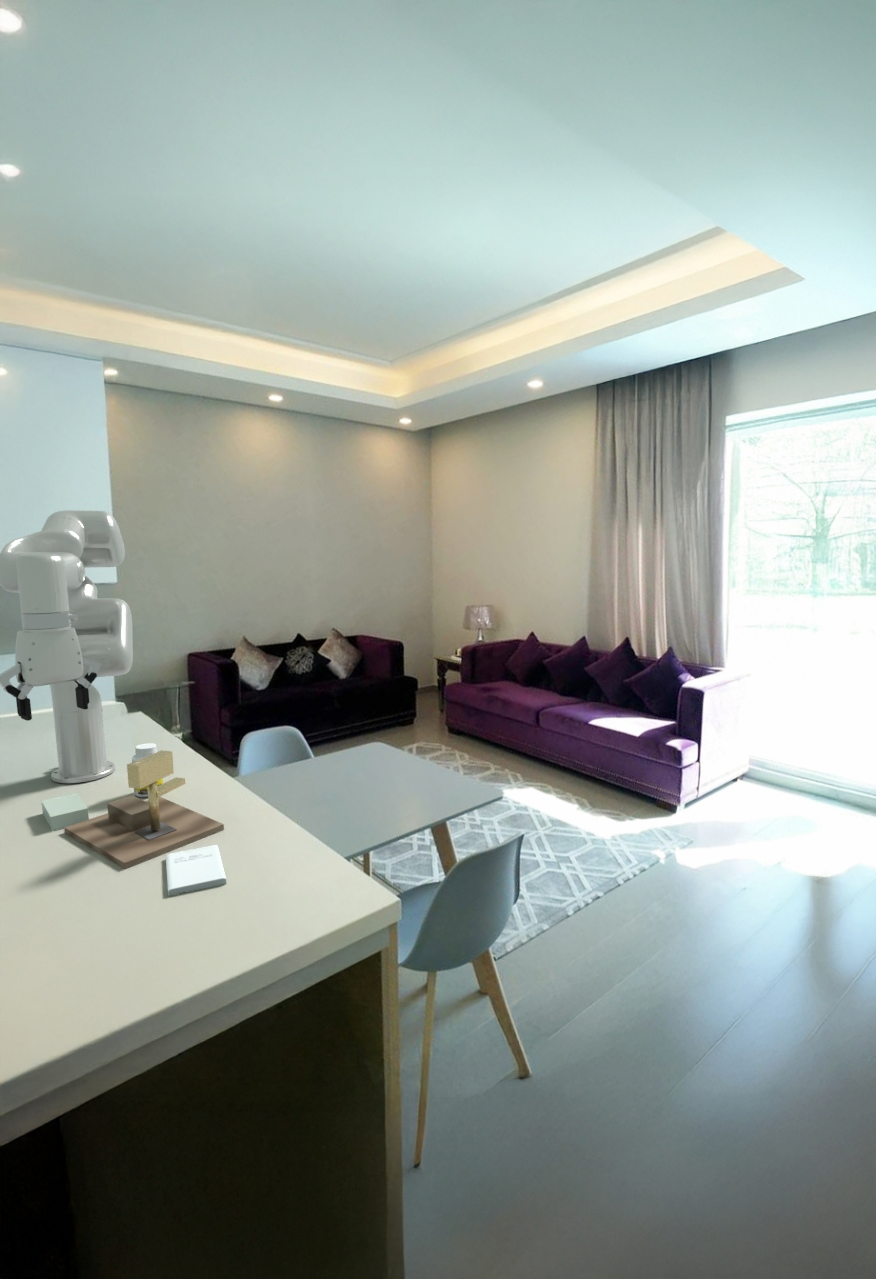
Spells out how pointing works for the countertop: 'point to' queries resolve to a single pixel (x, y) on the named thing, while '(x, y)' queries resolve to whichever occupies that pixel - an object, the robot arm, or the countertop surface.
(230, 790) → the countertop surface
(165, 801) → the base
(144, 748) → the supplement bottle
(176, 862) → the external hard drive
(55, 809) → the mint green block
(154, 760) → the key
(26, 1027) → the countertop surface
